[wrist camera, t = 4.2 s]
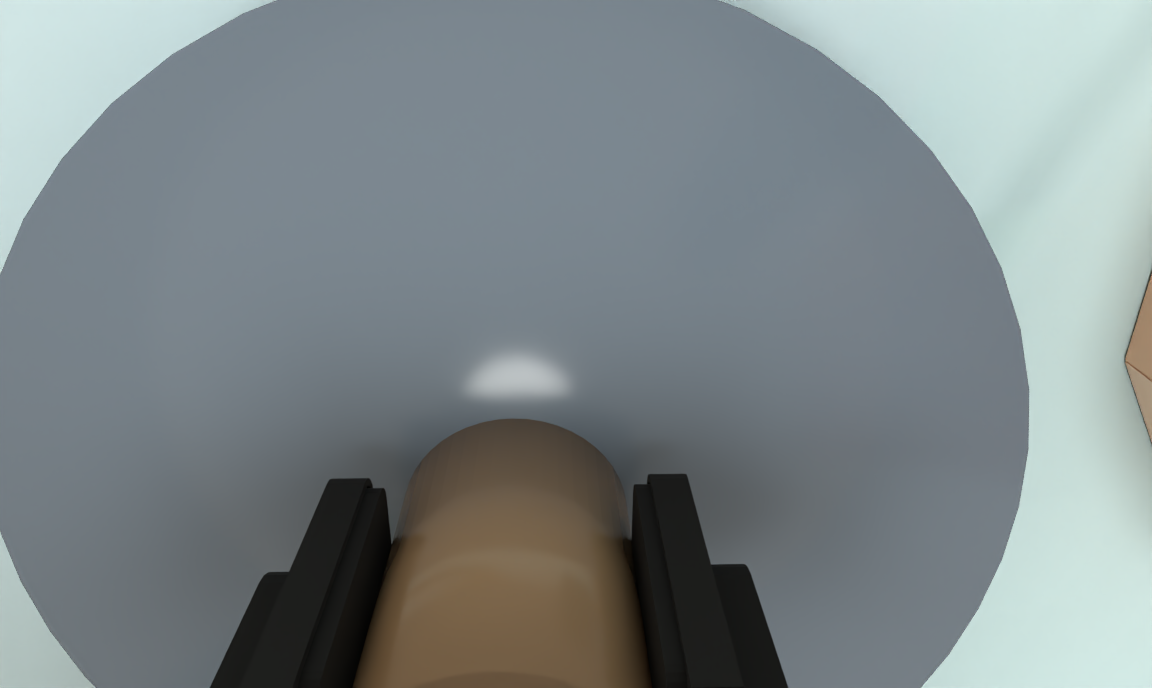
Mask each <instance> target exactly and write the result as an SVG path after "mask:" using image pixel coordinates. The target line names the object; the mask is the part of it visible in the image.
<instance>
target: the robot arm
mask: <svg viewBox="0 0 1152 688" xmlns="http://www.w3.org/2000/svg"><path fill="white" fill-rule="evenodd" d="M631 542H632V549H633V556H634V563H635V570H636V577H637V584H638V591H639V598H640V605H641V612H642V619H643V626H644V633H645V640H646V647H647V654H648V661H649V668H650V675H651V682H652V688H788V685H787V682H786V679H785V676H784V673H783V670H782V667H781V664H780V661H779V658H778V655H777V651H776V648H775V645H774V642H773V639H772V636H771V633H770V630H769V627H768V624H767V621H766V618H765V615H764V612H763V609H762V606H761V603H760V600H759V597H758V594H757V591H756V588H755V585H754V582H753V579H752V576H751V573H750V571H749V568H748V567H747V566H746V565H745V564H711V562H710V558H709V555H708V551H707V547H706V544H705V540H704V536H703V532H702V529H701V525H700V521H699V517H698V514H697V510H696V506H695V503H694V499H693V495H692V491H691V488H690V484H689V480H688V477H687V474H648V477H647V484H634V487H633V508H632V538H631ZM391 545H392V543H391V534H390V524H389V515H388V505H387V497H386V491H385V489H384V488H373V485H372V482H371V480H370V479H369V478H337V479H329V481H328V483H327V484H326V487H325V489H324V491H323V494H322V496H321V498H320V501H319V503H318V505H317V508H316V510H315V512H314V515H313V517H312V519H311V522H310V524H309V526H308V529H307V531H306V533H305V536H304V538H303V540H302V543H301V545H300V547H299V550H298V552H297V554H296V557H295V559H294V561H293V564H292V566H291V568H290V571H289V572H268V573H266V574H265V575H264V576H263V577H262V579H261V580H260V582H259V584H258V586H257V588H256V590H255V592H254V595H253V597H252V599H251V601H250V603H249V605H248V607H247V609H246V612H245V614H244V616H243V618H242V620H241V622H240V624H239V626H238V629H237V631H236V633H235V635H234V637H233V639H232V641H231V643H230V646H229V648H228V650H227V652H226V654H225V656H224V658H223V660H222V663H221V665H220V667H219V669H218V671H217V673H216V675H215V677H214V680H213V682H212V684H211V686H210V688H352V687H353V683H354V679H355V676H356V672H357V668H358V665H359V661H360V657H361V654H362V650H363V647H364V643H365V639H366V636H367V632H368V628H369V625H370V621H371V617H372V614H373V610H374V607H375V603H376V599H377V596H378V592H379V588H380V585H381V581H382V578H383V574H384V570H385V567H386V563H387V559H388V556H389V552H390V548H391Z"/></svg>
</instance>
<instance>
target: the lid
mask: <svg viewBox="0 0 1152 688" xmlns="http://www.w3.org/2000/svg"><path fill="white" fill-rule="evenodd" d="M1028 433H1029V386H1028V379H1027V372H1026V365H1025V358H1024V351H1023V344H1022V337H1021V330H1020V326H1019V323H1018V320H1017V317H1016V313H1015V310H1014V307H1013V304H1012V301H1011V297H1010V294H1009V291H1008V288H1007V284H1006V281H1005V278H1004V275H1003V271H1002V268H1001V266H1000V264H999V262H998V260H997V258H996V256H995V254H994V252H993V250H992V248H991V246H990V244H989V242H988V240H987V238H986V236H985V234H984V232H983V230H982V228H981V226H980V224H979V221H978V219H977V217H976V215H975V213H974V211H973V209H972V207H971V206H970V205H969V203H968V202H967V200H966V199H965V198H964V196H963V195H962V193H961V192H960V190H959V189H958V188H957V186H956V185H955V183H954V182H953V181H952V179H951V178H950V176H949V175H948V173H947V172H946V171H945V169H944V168H943V166H942V165H941V164H940V162H939V161H938V159H937V158H936V157H935V155H934V154H933V152H932V151H931V150H930V149H929V148H928V147H927V145H926V144H925V143H924V142H923V141H922V140H921V139H920V138H919V137H918V136H917V135H916V134H915V133H914V132H913V131H912V130H911V129H910V128H909V127H908V126H907V125H906V124H905V123H904V122H903V121H902V120H901V119H900V118H899V117H898V116H897V115H896V114H895V113H894V111H893V110H892V109H891V108H890V107H889V106H888V105H887V104H886V103H885V102H884V101H883V100H882V99H881V98H880V97H879V96H878V95H876V94H875V93H874V92H872V91H871V90H870V89H868V88H867V87H866V86H864V85H863V84H862V83H860V82H859V81H858V80H856V79H855V78H854V77H853V76H851V75H850V74H849V73H847V72H846V71H845V70H843V69H842V68H841V67H839V66H838V65H837V64H835V63H834V62H833V61H831V60H830V59H829V58H827V57H826V56H825V55H823V54H822V53H821V52H819V51H818V50H817V49H815V48H813V47H811V46H810V45H808V44H806V43H804V42H802V41H800V40H799V39H797V38H795V37H793V36H791V35H789V34H788V33H786V32H784V31H782V30H780V29H778V28H777V27H775V26H773V25H771V24H769V23H767V22H766V21H764V20H762V19H760V18H758V17H756V16H755V15H753V14H751V13H749V12H747V11H745V10H743V9H740V8H737V7H735V6H732V5H729V4H727V3H724V2H721V1H719V0H277V1H274V2H272V3H269V4H267V5H264V6H261V7H259V8H256V9H254V10H251V11H249V12H246V13H243V14H242V15H240V16H238V17H236V18H235V19H233V20H231V21H229V22H228V23H226V24H224V25H222V26H221V27H219V28H217V29H216V30H214V31H212V32H210V33H209V34H207V35H205V36H203V37H202V38H200V39H198V40H196V41H195V42H193V43H191V44H189V45H188V46H186V47H184V48H183V49H181V50H179V51H177V52H176V53H174V54H172V55H171V56H170V57H168V58H167V59H166V60H165V61H164V62H162V63H161V64H160V65H159V66H157V67H156V68H155V69H154V70H152V71H151V72H150V73H149V74H147V75H146V76H145V77H144V78H142V79H141V80H140V81H139V82H138V83H136V84H135V85H134V86H133V87H131V88H130V89H129V90H128V91H126V92H125V93H124V94H123V95H121V96H120V97H119V98H118V99H116V100H115V101H114V102H113V103H111V105H110V106H109V107H108V108H107V109H106V110H105V111H104V112H103V114H102V115H101V116H100V117H99V118H98V119H97V120H96V121H95V122H94V124H93V125H92V126H91V127H90V128H89V129H88V130H87V131H86V133H85V134H84V135H83V136H82V137H81V138H80V139H79V140H78V141H77V143H76V144H75V145H74V146H73V147H72V148H71V149H70V150H69V152H68V153H67V154H66V155H65V156H64V157H63V158H62V159H61V161H60V163H59V164H58V166H57V167H56V169H55V170H54V172H53V174H52V175H51V177H50V178H49V180H48V181H47V183H46V185H45V186H44V188H43V189H42V191H41V192H40V194H39V196H38V197H37V199H36V200H35V202H34V204H33V205H32V207H31V208H30V210H29V211H28V213H27V215H26V216H25V218H24V219H23V222H22V224H21V226H20V229H19V231H18V234H17V236H16V238H15V241H14V243H13V245H12V248H11V250H10V253H9V255H8V257H7V260H6V262H5V264H4V267H3V269H2V272H1V274H0V532H1V535H2V537H3V539H4V542H5V544H6V547H7V549H8V551H9V554H10V556H11V559H12V561H13V563H14V566H15V568H16V571H17V573H18V575H19V578H20V580H21V582H22V584H23V586H24V587H25V589H26V591H27V593H28V594H29V596H30V598H31V599H32V601H33V603H34V605H35V606H36V608H37V610H38V611H39V613H40V615H41V616H42V618H43V620H44V622H45V623H46V625H47V627H48V628H49V630H50V632H51V633H52V634H53V636H54V637H55V638H56V639H57V641H58V642H59V643H60V645H61V646H62V647H63V649H64V650H65V651H66V652H67V654H68V655H69V656H70V658H71V659H72V660H73V661H74V663H75V664H76V665H77V667H78V668H79V669H80V670H81V672H82V673H83V674H84V676H85V677H86V678H87V679H88V680H89V681H90V682H91V683H92V684H93V685H94V686H95V687H96V688H210V686H211V684H212V682H213V680H214V677H215V675H216V673H217V671H218V669H219V667H220V665H221V663H222V660H223V658H224V656H225V654H226V652H227V650H228V648H229V646H230V643H231V641H232V639H233V637H234V635H235V633H236V631H237V629H238V626H239V624H240V622H241V620H242V618H243V616H244V614H245V612H246V609H247V607H248V605H249V603H250V601H251V599H252V597H253V595H254V592H255V590H256V588H257V586H258V584H259V582H260V580H261V579H262V577H263V576H264V575H265V574H266V573H268V572H289V571H290V568H291V566H292V564H293V561H294V559H295V557H296V554H297V552H298V550H299V547H300V545H301V543H302V540H303V538H304V536H305V533H306V531H307V529H308V526H309V524H310V522H311V519H312V517H313V515H314V512H315V510H316V508H317V505H318V503H319V501H320V498H321V496H322V494H323V491H324V489H325V487H326V484H327V483H328V481H329V479H337V478H369V479H370V480H371V482H372V485H373V488H384V489H385V491H386V497H387V505H388V515H389V524H390V534H391V543H392V545H391V548H390V552H389V556H388V559H387V563H386V567H385V570H384V574H383V578H382V581H381V585H380V588H379V592H378V596H377V599H376V603H375V607H374V610H373V614H372V617H371V621H370V625H369V628H368V632H367V636H366V639H365V643H364V647H363V650H362V654H361V657H360V661H359V665H358V668H357V672H356V676H355V679H354V683H353V687H352V688H652V682H651V675H650V668H649V661H648V654H647V647H646V640H645V633H644V626H643V619H642V612H641V605H640V598H639V591H638V584H637V577H636V570H635V563H634V556H633V549H632V542H631V538H632V508H633V487H634V484H647V477H648V474H687V477H688V480H689V484H690V488H691V491H692V495H693V499H694V503H695V506H696V510H697V514H698V517H699V521H700V525H701V529H702V532H703V536H704V540H705V544H706V547H707V551H708V555H709V558H710V562H711V564H745V565H746V566H747V567H748V568H749V571H750V573H751V576H752V579H753V582H754V585H755V588H756V591H757V594H758V597H759V600H760V603H761V606H762V609H763V612H764V615H765V618H766V621H767V624H768V627H769V630H770V633H771V636H772V639H773V642H774V645H775V648H776V651H777V655H778V658H779V661H780V664H781V667H782V670H783V673H784V676H785V679H786V682H787V685H788V688H921V687H922V686H923V684H924V683H925V682H926V681H927V680H928V678H929V677H930V676H931V675H932V674H933V673H934V671H935V670H936V669H937V668H938V667H939V665H940V664H941V663H942V662H943V661H944V659H945V658H946V657H947V656H948V655H949V653H950V652H951V650H952V649H953V647H954V645H955V644H956V642H957V641H958V639H959V638H960V636H961V635H962V633H963V632H964V630H965V629H966V627H967V625H968V624H969V622H970V621H971V619H972V618H973V616H974V615H975V613H976V612H977V610H978V608H979V606H980V604H981V602H982V600H983V598H984V596H985V594H986V592H987V589H988V587H989V585H990V583H991V581H992V579H993V577H994V575H995V573H996V571H997V569H998V567H999V564H1000V562H1001V560H1002V557H1003V554H1004V551H1005V548H1006V545H1007V542H1008V539H1009V536H1010V532H1011V529H1012V526H1013V523H1014V520H1015V517H1016V514H1017V510H1018V507H1019V502H1020V496H1021V490H1022V484H1023V478H1024V472H1025V466H1026V460H1027V454H1028Z"/></svg>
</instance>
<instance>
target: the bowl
mask: <svg viewBox="0 0 1152 688" xmlns="http://www.w3.org/2000/svg"><path fill="white" fill-rule="evenodd" d="M1125 360H1126V362H1125V363H1126V366H1127V369H1128V373H1129V376H1130V379H1131V382H1132V385H1133V388H1134V391H1135V394H1136V397H1137V400H1138V403H1139V406H1140V409H1141V412H1142V415H1143V418H1144V421H1145V424H1146V427H1147V430H1148V433H1149V436H1150V439H1151V442H1152V274H1151V278H1150V281H1149V284H1148V287H1147V290H1146V294H1145V297H1144V300H1143V303H1142V306H1141V310H1140V313H1139V316H1138V319H1137V323H1136V326H1135V329H1134V332H1133V335H1132V339H1131V342H1130V345H1129V348H1128V351H1127V355H1126V358H1125Z"/></svg>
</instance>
